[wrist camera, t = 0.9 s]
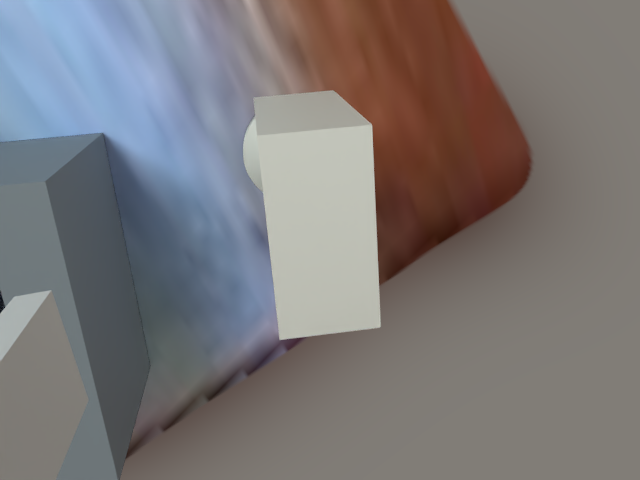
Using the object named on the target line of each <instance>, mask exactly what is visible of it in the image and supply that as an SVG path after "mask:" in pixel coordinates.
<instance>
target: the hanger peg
mask: <svg viewBox="0 0 640 480" xmlns="http://www.w3.org/2000/svg"><path fill="white" fill-rule="evenodd" d="M254 108H255V116H254V117H253V119H252V120H251V122H250V123H249V125H248V127H247V130H246V133H245V136H244V142H243V159H244V164H245V168H246V171H247V173H248V175H249V177H250V179H251V180H252V182H253V183H254V184H255V185H256V186H257V187H258V188H259V189H260V190H261V191H262V192H263V195H264V204H265V213H266V222H267V231H268V240H269V249H270V258H271V267H272V276H273V284H274V293H275V302H276V311H277V320H278V329H279V338H280V340H283V339H291V338H299V337H308V336H316V335H323V334H332V333H340V332H348V331H356V330H365V329H373V328H380V327H381V321H380V298H379V274H378V251H377V228H376V205H375V182H374V159H373V136H372V124H371V123H370V122H368V121H367V120H366V119H365V118H364V117H363V116H362V115H361V114H359V113H358V112H357V111H356V110H355V109H354V108H353V107H352V106H350V105H349V104H348V103H347V102H346V101H345V100H344V99H343V98H341V97H340V96H339V95H338V94H337V93H336V92H335V91H334V90H333V91H322V92H311V93H300V94H289V95H278V96H267V97H255V98H254Z"/></svg>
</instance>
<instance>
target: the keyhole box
mask: <svg viewBox="0 0 640 480" xmlns="http://www.w3.org/2000/svg"><path fill="white" fill-rule="evenodd" d="M49 290H52V293H53V296H54V299H55V302H56V305H57V308H58V311H59V314H60V317H61V320H62V323H63V326H64V329H65V332H66V335H67V338H68V341H69V343H70V346H71V349H72V352H73V355H74V358H75V361H76V364H77V367H78V370H79V373H80V376H81V379H82V382H83V385H84V388H85V391H86V394H87V397H88V399H89V401H88V403H87V405H86V408H85V410H84V413H83V415H82V417H81V420H80V422H79V425H78V427H77V430H76V432H75V434H74V437H73V439H72V442H71V444H70V446H69V449H68V451H67V454H66V456H65V459H64V461H63V463H62V466H61V468H60V471H59V473H58V476H57V478H56V480H120V476H121V473H122V469H123V466H124V462H125V458H126V454H127V451H128V447H129V443H130V440H131V436H132V432H133V429H134V425H135V421H136V418H137V414H138V410H139V407H140V403H141V399H142V395H143V392H144V388H145V384H146V381H147V377H148V373H149V370H150V363H149V358H148V353H147V348H146V343H145V338H144V333H143V328H142V323H141V318H140V313H139V308H138V303H137V298H136V293H135V289H134V284H133V279H132V274H131V269H130V264H129V259H128V254H127V249H126V244H125V239H124V234H123V229H122V224H121V220H120V215H119V210H118V205H117V200H116V195H115V190H114V185H113V180H112V175H111V170H110V165H109V160H108V155H107V150H106V146H105V141H104V136H103V133H97V134H86V135H75V136H65V137H54V138H43V139H32V140H22V141H11V142H0V291H1V294H2V298H3V301H4V305H5V307H6V306H7V305H8V303H9V302H10V301H11V300H12V299H13V297H15V296H21V295H26V294H32V293H38V292H43V291H49Z"/></svg>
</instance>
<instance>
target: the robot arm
mask: <svg viewBox="0 0 640 480" xmlns="http://www.w3.org/2000/svg"><path fill="white" fill-rule="evenodd" d="M88 401H89V399H88V397H87V394H86V391H85V388H84V385H83V382H82V379H81V376H80V373H79V370H78V367H77V364H76V361H75V358H74V355H73V352H72V349H71V346H70V343H69V341H68V338H67V335H66V332H65V329H64V326H63V323H62V320H61V317H60V314H59V311H58V308H57V305H56V302H55V299H54V296H53V293H52V290H49V291H43V292H38V293H32V294H26V295H21V296H15V297H13V299H12V300H11V301H10V302H9V303H8V305H7V306H6V307H5V308H4V309H3V311H2V312H1V313H0V480H56V478H57V476H58V473H59V471H60V468H61V466H62V463H63V461H64V459H65V456H66V454H67V451H68V449H69V446H70V444H71V442H72V439H73V437H74V434H75V432H76V430H77V427H78V425H79V422H80V420H81V417H82V415H83V413H84V410H85V408H86V405H87V403H88Z"/></svg>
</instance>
